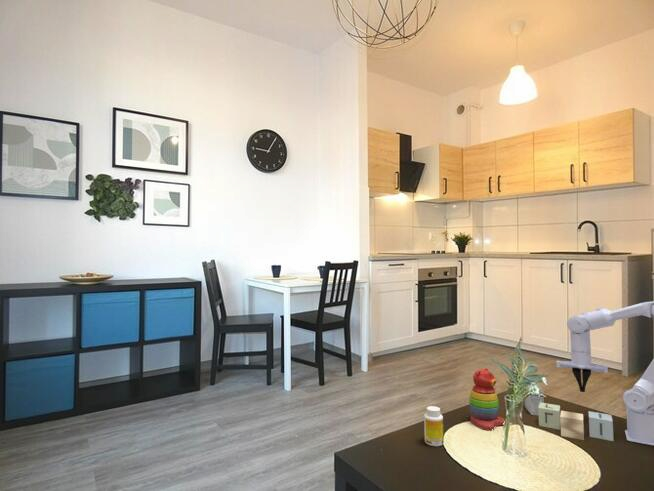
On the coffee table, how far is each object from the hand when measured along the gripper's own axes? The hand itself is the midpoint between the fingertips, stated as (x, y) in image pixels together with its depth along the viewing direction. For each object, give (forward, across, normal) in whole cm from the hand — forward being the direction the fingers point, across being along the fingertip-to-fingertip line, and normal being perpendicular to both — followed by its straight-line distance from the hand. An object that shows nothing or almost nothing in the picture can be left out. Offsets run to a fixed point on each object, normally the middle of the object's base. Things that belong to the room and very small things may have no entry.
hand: (582, 391), depth 133 cm
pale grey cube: (+10, +4, -9) cm, 15 cm away
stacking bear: (+11, -28, -18) cm, 35 cm away
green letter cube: (+10, -10, -8) cm, 16 cm away
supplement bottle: (+11, -38, -42) cm, 58 cm away
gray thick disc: (+11, -15, +2) cm, 19 cm away
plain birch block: (+10, -3, -13) cm, 17 cm away
